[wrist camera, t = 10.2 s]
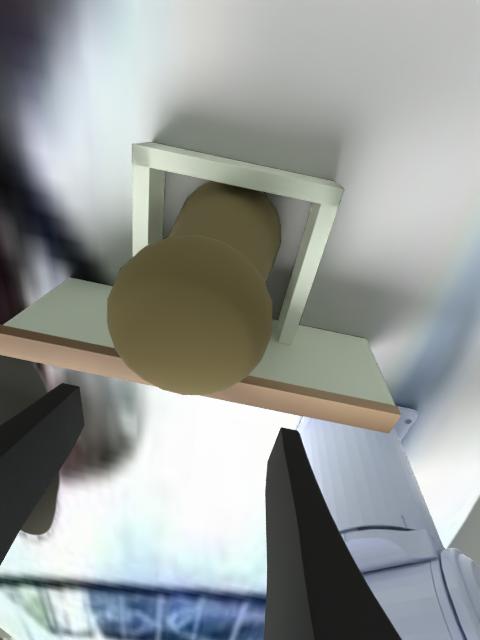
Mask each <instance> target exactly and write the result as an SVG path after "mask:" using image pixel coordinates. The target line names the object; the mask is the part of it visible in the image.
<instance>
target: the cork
mask: <svg viewBox="0 0 480 640" xmlns="http://www.w3.org/2000/svg"><path fill="white" fill-rule="evenodd" d="M280 243H281V224H280V221H279V218H278V215H277V212H276V209H275V207H274V206H273V205H272V203H271V202H270V200H269V199H268V198H267V196H266V195H265V194H264V193H262V192H261V191H258V190H253V189H248V188H244V187H239V186H234V185H230V184H225V183H220V182H215V181H212V182H209V183H207V184H205V185H203V186H200V187H199V188H198V189H197V190H196V191H195V192H193V193H192V194H191V195H190V196H189V197H188V198H187V200H186V202H185V204H184V206H183V208H182V210H181V212H180V214H179V216H178V218H177V220H176V222H175V224H174V226H173V228H172V230H171V232H170V234H169V236H168V237H167V238H165V239H162V240H160V241H157V242H155V243H152V244H150V245H147V246H145V247H144V248H143V249H142V250H140V251H139V252H138V253H137V254H136V255H135V256H134V257H133V258H132V259H131V260H129V261H128V262H127V263H126V264H125V265H124V266H123V267H122V268H121V269H120V271H119V273H118V276H117V278H116V280H115V282H114V285H113V287H112V289H111V292H110V294H109V297H108V299H107V324H108V329H109V333H110V336H111V339H112V342H113V345H114V348H115V350H116V351H117V353H118V354H119V356H120V357H121V358H122V360H123V361H124V363H125V364H126V365H127V367H129V368H130V369H131V370H132V371H133V372H135V373H136V374H137V375H138V376H139V377H141V378H142V379H143V380H145V381H147V382H149V383H151V384H153V385H155V386H157V387H159V388H161V389H163V390H166V391H170V392H174V393H178V394H182V395H207V394H211V393H216V392H220V391H224V390H225V389H227V388H229V387H231V386H233V385H234V384H236V383H238V382H240V381H241V380H243V379H244V378H246V377H247V376H248V375H249V374H250V373H251V372H252V371H253V369H254V368H255V367H256V366H257V365H258V364H259V363H260V362H261V360H262V358H263V356H264V353H265V351H266V348H267V346H268V343H269V340H270V338H271V335H272V332H273V330H272V299H271V297H270V294H269V292H268V289H267V286H266V281H267V279H268V276H269V274H270V271H271V268H272V266H273V263H274V261H275V258H276V255H277V252H278V249H279V246H280Z"/></svg>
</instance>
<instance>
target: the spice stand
mask: <svg viewBox="0 0 480 640" xmlns="http://www.w3.org/2000/svg"><path fill="white" fill-rule="evenodd" d="M165 171H168V172H173V173H178V174H182V175H187V176H192V177H197V178H201V179H206V180H211V181H215V182H220V183H225V184H230V185H234V186H239V187H244V188H248V189H253V190H258V191H262V192H267V193H272V194H277V195H281V196H286V197H291V198H295V199H300V200H305V201H309V202H313V204H312V207H311V211H310V214H309V217H308V221H307V224H306V228H305V231H304V234H303V238H302V241H301V245H300V248H299V251H298V255H297V258H296V262H295V265H294V268H293V272H292V275H291V279H290V282H289V285H288V289H287V292H286V296H285V299H284V302H283V306H282V309H281V313H280V316H279V319H278V320H273V319H272V330H273V332H272V335H271V338H270V340H269V343H268V346H267V348H266V351H265V353H264V356H263V358H262V360H261V362H260V363H259V364H258V365H257V366H256V367H255V368H254V369H253V371H252V372H251V373H250V374H249V375H248V376H247V377H246V378H244V379H243V380H241V381H240V382H238V383H236V384H234V385H233V386H231V387H229V388H227V389H225V390H224V391H220V392H216V393H211V394H207V395H201V396H206V397H211V398H216V399H221V400H225V401H230V402H235V403H240V404H245V405H250V406H255V407H260V408H265V409H270V410H275V411H280V412H285V413H290V414H294V415H299V416H304V417H309V418H314V419H319V420H324V421H329V422H334V423H339V424H344V425H349V426H354V427H358V428H363V429H368V430H373V431H378V432H383V433H388V434H389V433H390V431H391V430H392V428H393V427H394V425H395V424H396V422H397V421H398V420H399V418H400V417H401V413H400V411H399V409H398V406H396V405H395V403H394V401H393V398H392V396H391V394H390V392H389V389H388V387H387V385H386V382H385V380H384V378H383V376H382V373H381V371H380V369H379V367H378V364H377V362H376V360H375V357H374V355H373V353H372V351H371V348H370V346H369V344H368V342H367V339H365V338H360V337H355V336H350V335H346V334H341V333H336V332H331V331H326V330H321V329H317V328H312V327H307V326H302V325H299V322H300V319H301V316H302V313H303V310H304V307H305V304H306V301H307V299H308V296H309V293H310V290H311V287H312V284H313V281H314V278H315V275H316V272H317V269H318V266H319V263H320V260H321V257H322V254H323V251H324V248H325V245H326V242H327V240H328V237H329V234H330V231H331V228H332V225H333V222H334V219H335V216H336V213H337V210H338V207H339V204H340V201H341V198H342V195H343V192H344V188H342V187H341V186H340V185H339V184H338V183H337V182H335V181H331V180H326V179H322V178H317V177H312V176H308V175H303V174H298V173H293V172H289V171H284V170H279V169H275V168H270V167H265V166H261V165H256V164H251V163H247V162H242V161H237V160H233V159H228V158H223V157H219V156H214V155H209V154H205V153H200V152H195V151H191V150H186V149H181V148H177V147H172V146H167V145H163V144H158V143H153V142H147V143H136V144H132V247H133V257H134V256H135V255H136V254H137V253H138V252H139V251H140V250H142V249H143V248H144V247H145V246H147V245H150V244H152V243H155V242H157V241H160V240H162V234H163V213H164V192H165ZM112 287H113V286H109V285H104V284H99V283H94V282H90V281H85V280H80V279H75V278H68V279H67V280H65V281H64V282H63V283H61V284H60V285H58V286H57V287H56V288H54V289H53V290H51V291H50V292H49V293H47V294H46V295H44V296H43V297H42V298H40V299H39V300H37V301H36V302H35V303H33V304H32V305H30V306H29V307H28V308H26V309H25V310H23V311H22V312H21V313H19V314H18V315H16V316H15V317H14V318H12V319H11V320H9V321H8V322H7V323H5V324H4V325H0V355H4V356H9V357H14V358H19V359H24V360H29V361H33V362H38V363H43V364H48V365H53V366H58V367H63V368H68V369H73V370H78V371H83V372H88V373H93V374H97V375H102V376H107V377H112V378H117V379H122V380H127V381H132V382H137V383H142V384H147V385H152V386H155V385H153V384H151V383H149V382H147V381H145V380H143V379H142V378H141V377H139V376H138V375H137V374H136V373H135V372H133V371H132V370H131V369H130V368H129V367H127V365H126V364H125V363H124V361H123V360H122V358H121V357H120V356H119V354H118V353H117V351H116V350H115V348H114V345H113V342H112V339H111V336H110V333H109V329H108V324H107V299H108V297H109V294H110V292H111V289H112Z"/></svg>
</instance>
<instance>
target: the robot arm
mask: <svg viewBox="0 0 480 640" xmlns="http://www.w3.org/2000/svg"><path fill="white" fill-rule="evenodd" d="M398 409H399V411H400V413H401V417H400V418H399V420H398V421H397V422H396V424H395V425H394V427H393V428H392V430H391V431H390V433H389V434H388V433H383V432H378V431H373V430H368V429H363V428H358V427H354V426H349V425H344V424H339V423H334V422H329V421H324V420H319V419H314V418H309V417H304V416H303V417H302V419H301V421H300V424H299V426H298V428H297V431H296V430H291V429H286V428H281V429H280V431H279V434H278V436H277V439H276V442H275V444H274V447H273V449H272V452H271V455H270V457H269V460H268V464H267V477H266V491H265V497H266V538H267V594H266V613H265V630H264V640H480V567H479V566H478V565H477V563H475V562H474V561H473V560H472V559H470V558H468V557H467V556H465V555H463V554H462V553H461V552H460V551H459V550H457V549H455V548H448V549H445V548H444V547H443V545H442V542H441V540H440V537H439V535H438V532H437V530H436V527H435V525H434V522H433V520H432V517H431V515H430V513H429V510H428V508H427V505H426V503H425V500H424V498H423V495H422V493H421V490H420V488H419V485H418V483H417V480H416V478H415V475H414V473H413V471H412V468H411V466H410V463H409V461H408V458H407V456H406V453H405V451H404V448H403V446H402V443H401V440H402V439H403V437H404V436H405V434H406V433H407V432H408V430H409V429H410V428H411V426H412V425H413V423H414V422H415V421H416V419H417V418H418V414H417V412H416V411H415V410H414V409H410V408H405V407H400V406H398ZM83 427H84V418H83V411H82V403H81V395H80V388H79V386H74V385H69V384H64V383H62V384H60V385H59V386H57V387H56V388H54V389H53V390H51V391H50V392H48V393H47V394H45V395H44V396H43V397H41V398H40V399H38V400H37V401H35V402H34V403H33V404H31V405H30V406H28V407H27V408H25V409H24V410H23V411H21V412H20V413H18V414H16V415H15V416H14V417H12V418H11V419H9V420H7V421H6V422H4V423H3V424H2V425H0V565H1V563H2V561H3V560H4V558H5V556H6V554H7V552H8V551H9V549H10V547H11V545H12V543H13V541H14V540H15V538H16V536H17V534H18V532H19V531H20V529H21V528H22V526H23V524H24V523H25V521H26V519H27V518H28V516H29V515H30V513H31V512H32V510H33V509H34V507H35V506H36V504H37V503H38V501H39V500H40V498H41V497H42V495H43V494H44V492H45V491H46V489H47V488H48V486H49V485H50V483H51V482H52V480H53V479H54V477H55V476H56V474H57V473H58V471H59V470H60V468H61V467H62V465H63V463H64V462H65V460H66V459H67V457H68V456H69V454H70V453H71V451H72V449H73V447H74V445H75V443H76V441H77V439H78V437H79V435H80V433H81V431H82V429H83Z"/></svg>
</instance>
